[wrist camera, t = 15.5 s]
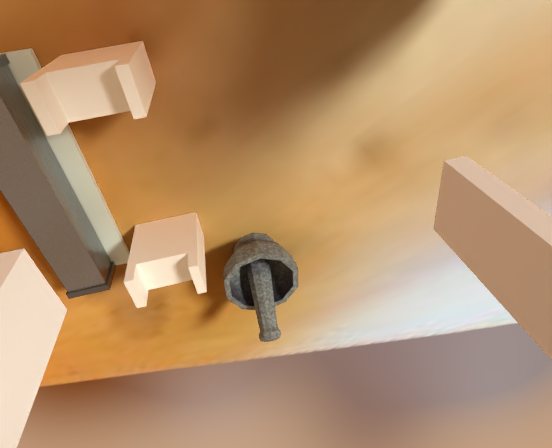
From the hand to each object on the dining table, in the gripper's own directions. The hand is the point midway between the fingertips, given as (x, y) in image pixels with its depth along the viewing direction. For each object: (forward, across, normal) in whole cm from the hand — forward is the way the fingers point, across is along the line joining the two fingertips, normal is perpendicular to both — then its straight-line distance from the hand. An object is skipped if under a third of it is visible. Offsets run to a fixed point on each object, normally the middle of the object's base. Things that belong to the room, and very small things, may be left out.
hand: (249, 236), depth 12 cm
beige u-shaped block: (+31, -10, -20) cm, 38 cm away
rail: (+30, -21, -10) cm, 38 cm away
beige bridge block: (+31, -10, 0) cm, 33 cm away
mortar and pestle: (+31, 0, -27) cm, 41 cm away
